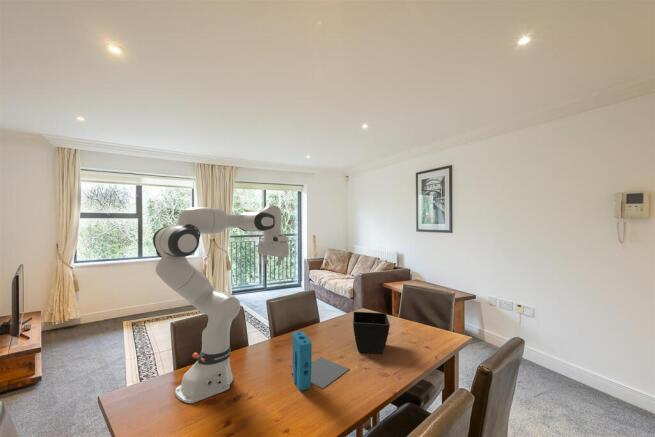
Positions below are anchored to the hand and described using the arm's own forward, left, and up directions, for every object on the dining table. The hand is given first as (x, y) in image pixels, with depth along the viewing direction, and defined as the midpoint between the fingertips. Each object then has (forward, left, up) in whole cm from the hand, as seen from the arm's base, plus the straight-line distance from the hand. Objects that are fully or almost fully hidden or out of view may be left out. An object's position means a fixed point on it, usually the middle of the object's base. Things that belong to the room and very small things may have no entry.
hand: (272, 264), depth 146 cm
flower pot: (+41, -34, -47) cm, 71 cm away
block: (-8, -29, -47) cm, 56 cm away
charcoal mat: (+5, -29, -47) cm, 55 cm away
